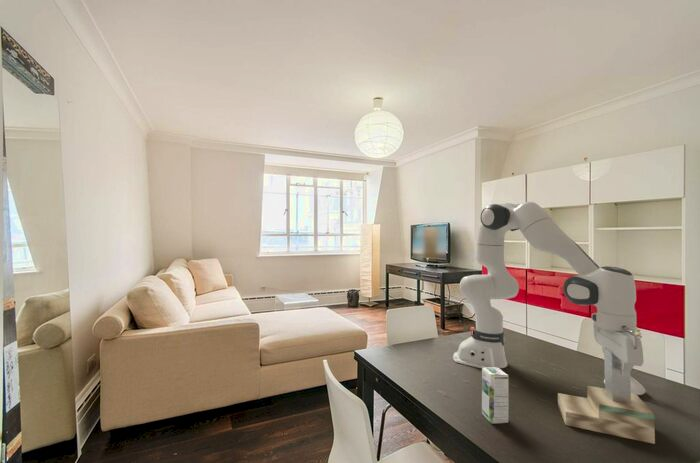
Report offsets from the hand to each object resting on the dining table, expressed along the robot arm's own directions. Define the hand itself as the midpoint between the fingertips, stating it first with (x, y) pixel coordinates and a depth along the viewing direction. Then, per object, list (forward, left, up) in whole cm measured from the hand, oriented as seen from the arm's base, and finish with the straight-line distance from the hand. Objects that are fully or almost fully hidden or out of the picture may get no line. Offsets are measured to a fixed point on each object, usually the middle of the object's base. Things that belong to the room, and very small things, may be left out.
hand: (616, 368), depth 91 cm
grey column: (0, 0, -9) cm, 9 cm away
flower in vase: (+10, +27, -17) cm, 33 cm away
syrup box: (-33, -11, -17) cm, 39 cm away
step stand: (-4, 0, -17) cm, 17 cm away
